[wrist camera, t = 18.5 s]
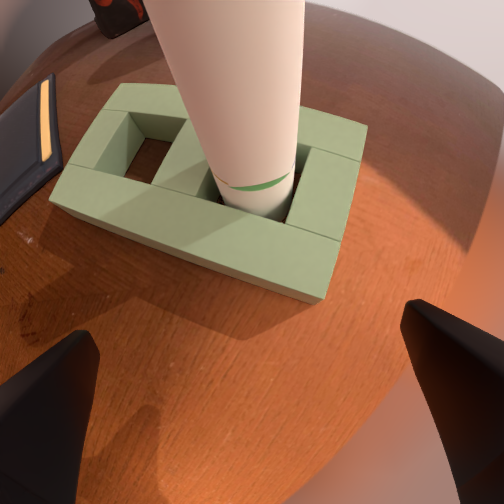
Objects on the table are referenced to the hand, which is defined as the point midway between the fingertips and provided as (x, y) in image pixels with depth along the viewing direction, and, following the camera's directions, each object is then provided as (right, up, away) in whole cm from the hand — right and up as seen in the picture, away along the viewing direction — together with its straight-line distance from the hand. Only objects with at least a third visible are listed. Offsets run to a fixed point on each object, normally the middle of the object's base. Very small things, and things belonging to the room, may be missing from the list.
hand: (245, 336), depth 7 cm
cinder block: (-3, +7, +12) cm, 14 cm away
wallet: (-28, +14, +17) cm, 35 cm away
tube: (+1, +6, +12) cm, 13 cm away
